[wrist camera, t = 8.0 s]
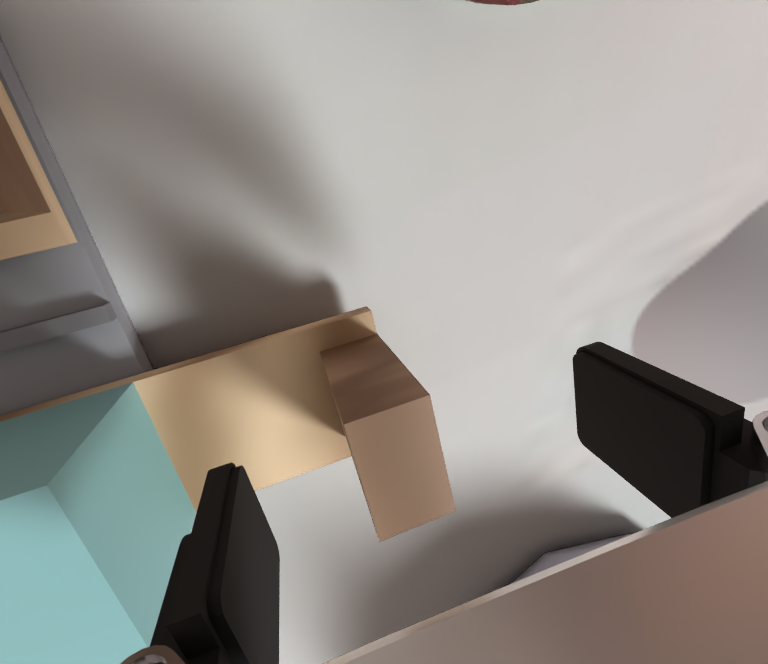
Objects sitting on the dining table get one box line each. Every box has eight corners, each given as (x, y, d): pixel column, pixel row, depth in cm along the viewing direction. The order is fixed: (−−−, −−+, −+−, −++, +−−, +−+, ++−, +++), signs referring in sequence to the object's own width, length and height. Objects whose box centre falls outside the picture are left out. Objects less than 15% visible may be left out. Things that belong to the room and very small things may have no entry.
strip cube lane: (366, 306, 17) (422, 361, 11) (398, 428, 19) (461, 536, 13) (-39, 426, 14) (-282, 593, 8) (46, 553, 16) (-97, 767, 10)
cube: (133, 382, 15) (47, 484, 9) (195, 512, 17) (157, 662, 11) (-56, 438, 14) (-282, 593, 8) (35, 570, 16) (-97, 767, 10)
